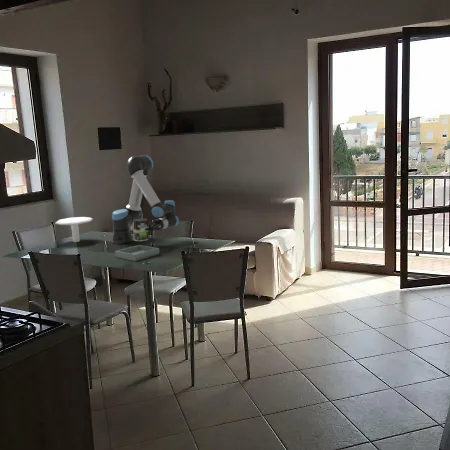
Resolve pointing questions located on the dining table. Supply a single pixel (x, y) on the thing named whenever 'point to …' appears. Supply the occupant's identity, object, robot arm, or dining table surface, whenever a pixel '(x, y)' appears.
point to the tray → (137, 252)
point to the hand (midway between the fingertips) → (135, 229)
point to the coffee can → (137, 231)
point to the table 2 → (74, 225)
